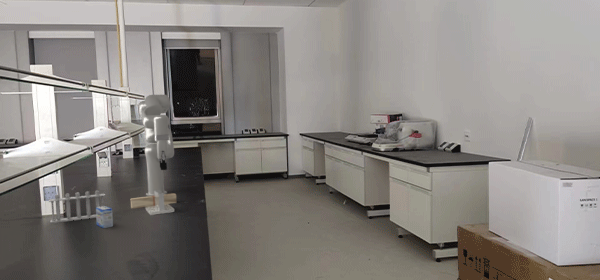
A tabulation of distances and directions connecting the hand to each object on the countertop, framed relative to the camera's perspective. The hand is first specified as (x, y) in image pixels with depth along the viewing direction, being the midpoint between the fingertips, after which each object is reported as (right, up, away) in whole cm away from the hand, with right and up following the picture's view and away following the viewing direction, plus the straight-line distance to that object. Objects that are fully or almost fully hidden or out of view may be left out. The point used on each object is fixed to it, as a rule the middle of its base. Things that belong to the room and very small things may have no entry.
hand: (163, 168), depth 243 cm
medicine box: (-15, -24, -40) cm, 49 cm away
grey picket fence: (-34, -24, -25) cm, 48 cm away
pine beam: (-6, -21, +2) cm, 21 cm away
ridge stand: (+2, -21, -12) cm, 25 cm away
